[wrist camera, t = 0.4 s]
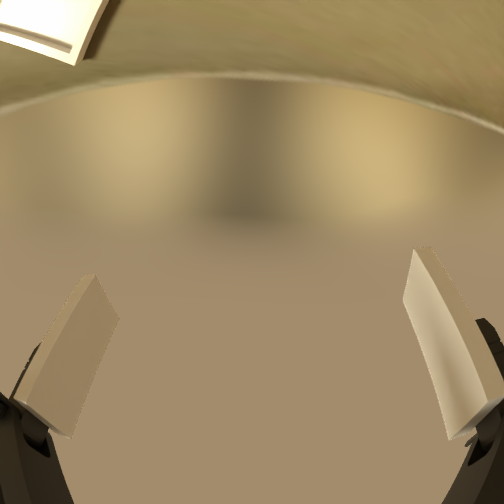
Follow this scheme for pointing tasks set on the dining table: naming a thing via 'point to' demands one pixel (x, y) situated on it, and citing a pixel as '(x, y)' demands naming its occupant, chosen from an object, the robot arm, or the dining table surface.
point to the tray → (51, 26)
